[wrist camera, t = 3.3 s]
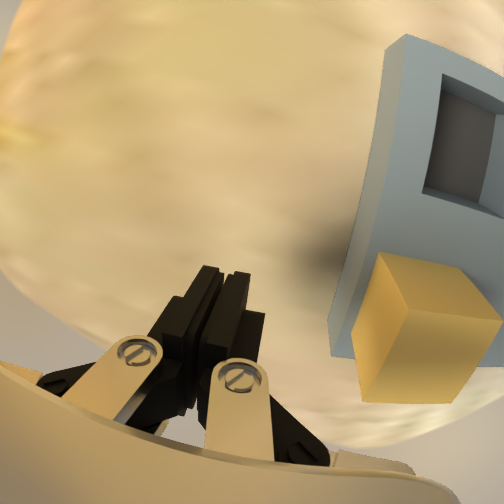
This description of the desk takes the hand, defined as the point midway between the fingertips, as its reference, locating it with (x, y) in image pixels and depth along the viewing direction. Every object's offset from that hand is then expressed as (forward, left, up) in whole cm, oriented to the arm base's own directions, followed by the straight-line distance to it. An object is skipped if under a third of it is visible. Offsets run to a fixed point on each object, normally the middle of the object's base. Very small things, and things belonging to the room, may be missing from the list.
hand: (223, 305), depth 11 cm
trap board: (-4, +15, -5) cm, 16 cm away
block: (0, +7, -2) cm, 8 cm away
